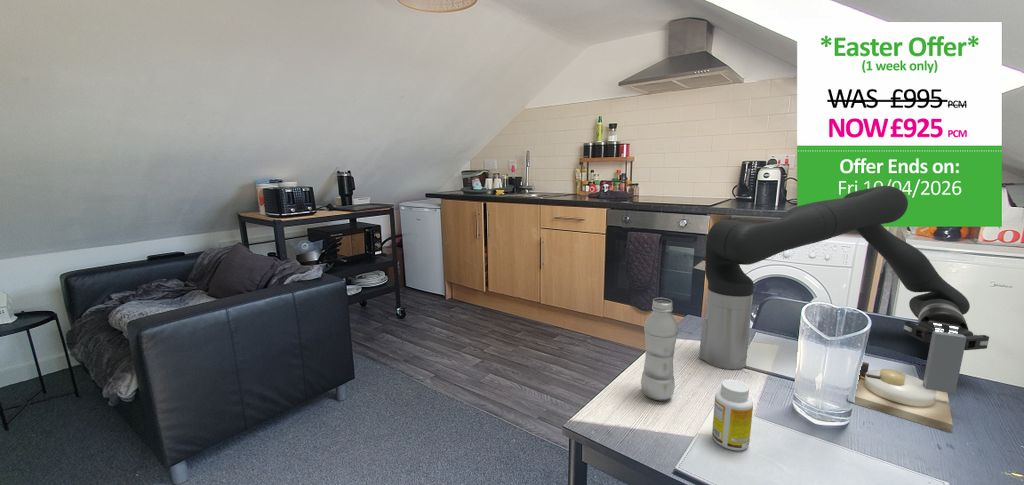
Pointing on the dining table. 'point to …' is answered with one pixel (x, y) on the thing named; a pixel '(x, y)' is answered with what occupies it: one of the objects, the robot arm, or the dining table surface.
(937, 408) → the level stand
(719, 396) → the supplement bottle
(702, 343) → the robot arm
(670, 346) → the plastic bottle
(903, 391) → the dial
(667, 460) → the dining table surface
